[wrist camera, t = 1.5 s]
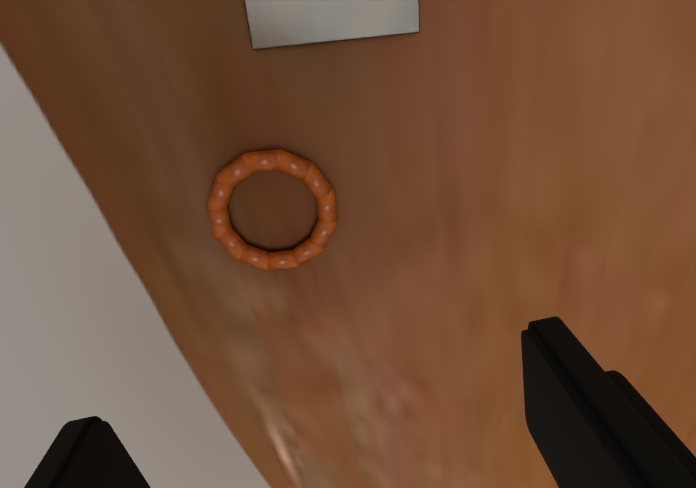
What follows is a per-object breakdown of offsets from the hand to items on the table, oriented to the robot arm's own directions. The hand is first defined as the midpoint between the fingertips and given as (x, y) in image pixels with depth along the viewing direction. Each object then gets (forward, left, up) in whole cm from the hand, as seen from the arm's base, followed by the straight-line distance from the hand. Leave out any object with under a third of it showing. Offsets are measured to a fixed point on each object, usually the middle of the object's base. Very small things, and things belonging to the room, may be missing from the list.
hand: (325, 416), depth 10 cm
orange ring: (-3, -3, -19) cm, 20 cm away
